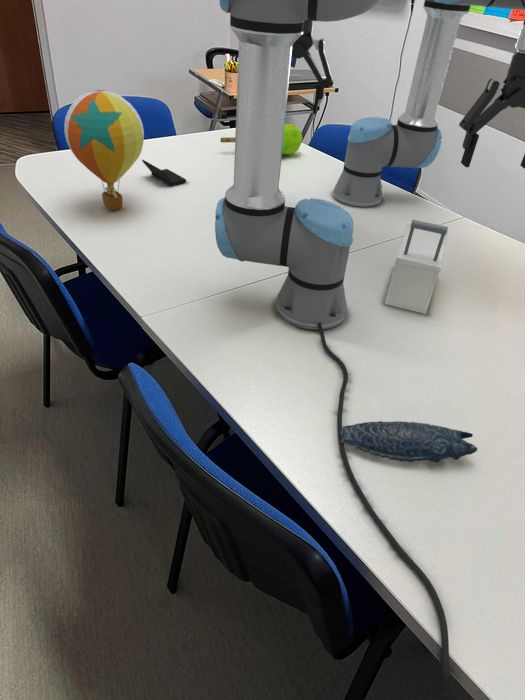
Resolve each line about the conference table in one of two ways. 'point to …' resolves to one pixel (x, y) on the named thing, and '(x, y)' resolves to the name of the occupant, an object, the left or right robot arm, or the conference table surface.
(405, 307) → the chest
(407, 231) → the lid
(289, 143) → the decorative tree
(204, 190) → the conference table surface
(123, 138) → the toy
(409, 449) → the fish model
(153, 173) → the black angular block
